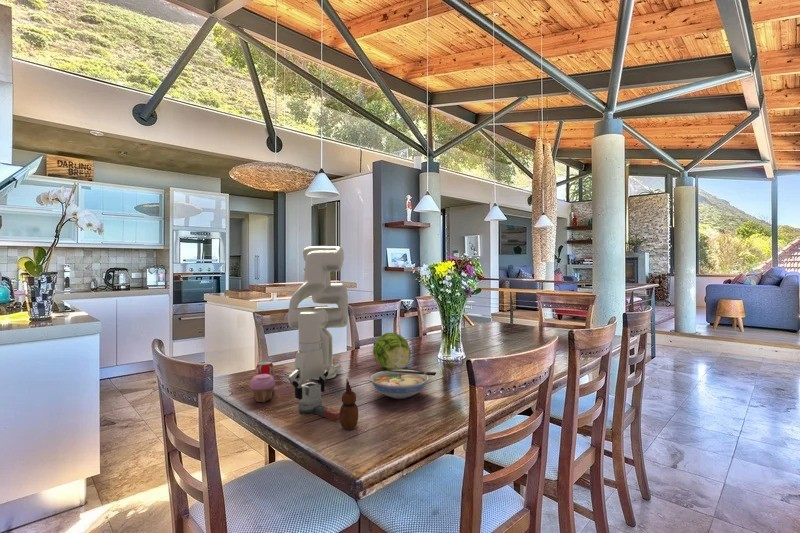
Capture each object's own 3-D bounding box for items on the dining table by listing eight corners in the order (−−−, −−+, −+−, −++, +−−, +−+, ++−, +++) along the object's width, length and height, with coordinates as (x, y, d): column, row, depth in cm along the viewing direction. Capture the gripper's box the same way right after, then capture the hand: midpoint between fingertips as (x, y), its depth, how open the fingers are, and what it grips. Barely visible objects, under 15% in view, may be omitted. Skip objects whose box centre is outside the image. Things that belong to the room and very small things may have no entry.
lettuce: (380, 378, 184) (388, 342, 182) (366, 359, 205) (373, 326, 204) (415, 381, 190) (423, 346, 189) (397, 362, 212) (405, 330, 210)
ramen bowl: (357, 402, 152) (357, 380, 152) (380, 384, 174) (380, 365, 173) (422, 409, 144) (421, 386, 143) (438, 390, 165) (438, 370, 165)
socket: (311, 398, 148) (311, 381, 148) (321, 401, 145) (320, 384, 145) (299, 402, 144) (299, 385, 144) (309, 405, 141) (308, 388, 141)
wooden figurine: (340, 423, 132) (340, 377, 132) (358, 422, 132) (358, 376, 132) (339, 432, 125) (338, 383, 125) (358, 431, 126) (357, 382, 125)
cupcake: (264, 405, 149) (264, 378, 149) (245, 403, 152) (244, 376, 152) (279, 398, 157) (279, 372, 157) (261, 395, 160) (260, 370, 160)
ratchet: (312, 404, 150) (312, 383, 150) (348, 416, 138) (347, 393, 138) (293, 410, 144) (293, 388, 144) (329, 423, 132) (329, 399, 132)
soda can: (268, 395, 160) (268, 365, 160) (252, 394, 162) (251, 364, 161) (277, 390, 167) (277, 360, 167) (261, 389, 168) (261, 360, 168)
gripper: (322, 341, 153) (322, 386, 154) (282, 349, 140) (282, 399, 140) (335, 343, 148) (336, 390, 149) (295, 352, 135) (296, 404, 135)
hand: (310, 394), depth 144 cm, fingers open, 9 cm apart
